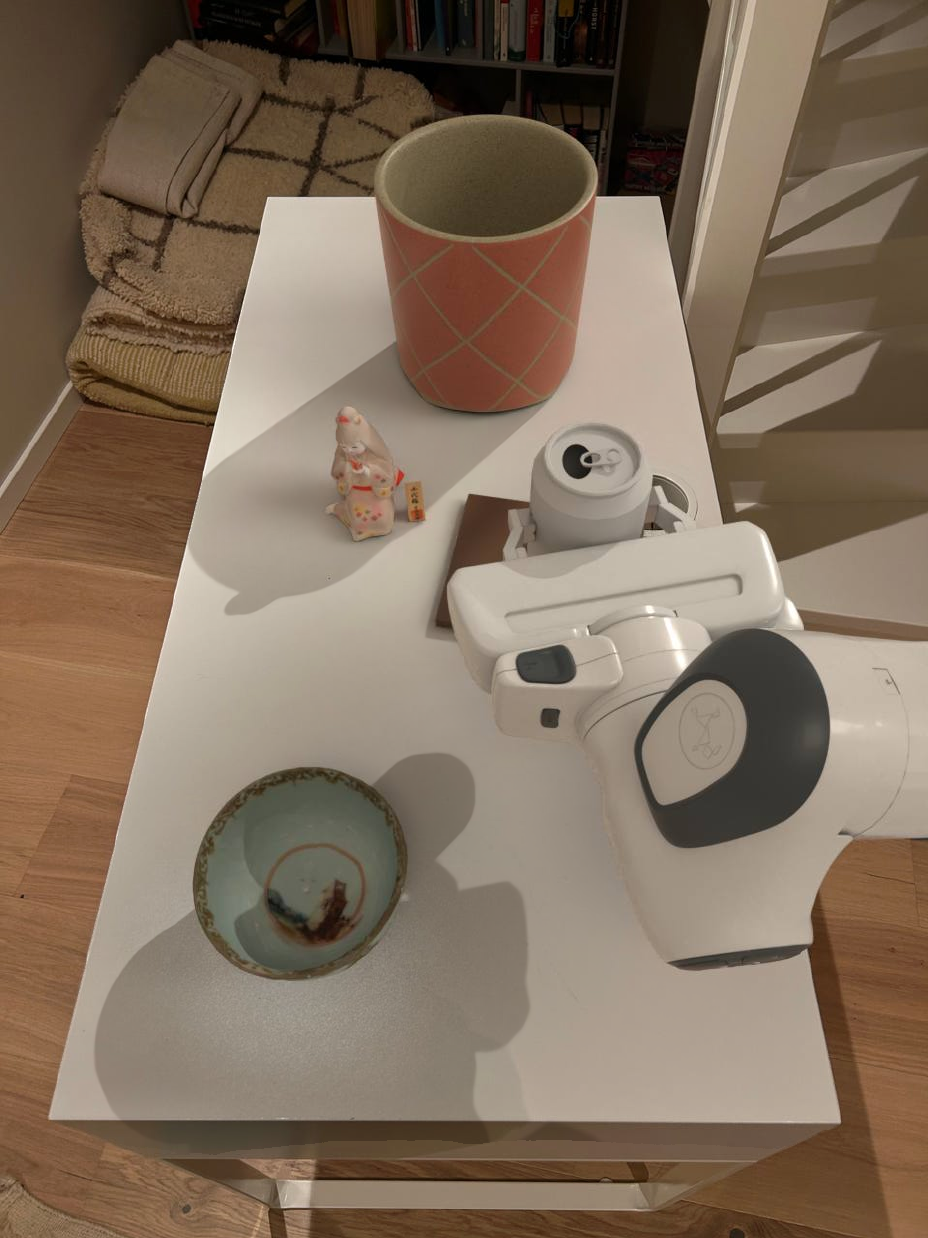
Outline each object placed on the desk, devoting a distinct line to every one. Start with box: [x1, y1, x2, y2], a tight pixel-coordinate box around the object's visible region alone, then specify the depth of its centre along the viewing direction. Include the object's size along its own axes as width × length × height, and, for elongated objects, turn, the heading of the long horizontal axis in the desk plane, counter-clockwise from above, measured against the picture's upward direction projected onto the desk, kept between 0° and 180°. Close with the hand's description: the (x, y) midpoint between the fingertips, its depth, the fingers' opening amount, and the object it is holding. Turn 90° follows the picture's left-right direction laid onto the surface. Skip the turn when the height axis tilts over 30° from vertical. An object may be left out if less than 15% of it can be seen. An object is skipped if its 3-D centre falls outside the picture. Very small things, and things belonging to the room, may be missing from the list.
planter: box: [373, 114, 599, 413], centre depth 86 cm, size 19×19×20 cm
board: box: [434, 493, 646, 630], centre depth 79 cm, size 16×14×1 cm
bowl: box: [192, 766, 409, 982], centre depth 61 cm, size 14×13×8 cm
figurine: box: [325, 406, 426, 542], centre depth 79 cm, size 9×7×12 cm
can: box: [527, 419, 654, 557], centre depth 61 cm, size 8×8×12 cm
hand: (582, 503), depth 61 cm, fingers closed on can, 7 cm apart
